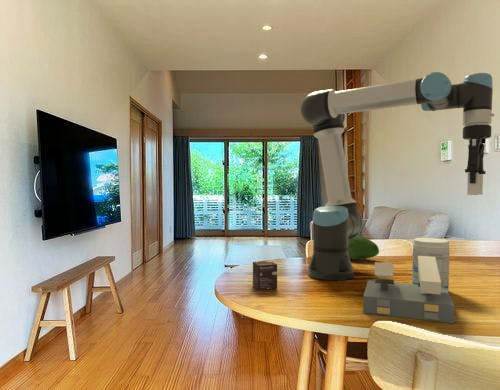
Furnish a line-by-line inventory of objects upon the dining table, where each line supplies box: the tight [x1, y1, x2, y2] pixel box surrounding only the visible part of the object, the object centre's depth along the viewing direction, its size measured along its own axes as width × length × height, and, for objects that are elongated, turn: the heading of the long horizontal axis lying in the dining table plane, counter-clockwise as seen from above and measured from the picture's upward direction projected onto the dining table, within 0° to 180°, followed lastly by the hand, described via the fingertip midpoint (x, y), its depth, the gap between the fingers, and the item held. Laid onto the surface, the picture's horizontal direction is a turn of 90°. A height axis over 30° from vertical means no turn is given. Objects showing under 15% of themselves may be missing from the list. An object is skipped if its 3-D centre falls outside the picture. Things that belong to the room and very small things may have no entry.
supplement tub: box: [411, 237, 450, 293], centre depth 106 cm, size 10×10×15 cm
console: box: [362, 277, 455, 324], centre depth 91 cm, size 19×16×7 cm
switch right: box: [418, 256, 441, 295], centre depth 89 cm, size 4×14×3 cm, turn 158°
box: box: [252, 260, 278, 290], centre depth 110 cm, size 6×6×7 cm
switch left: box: [374, 261, 394, 279], centre depth 93 cm, size 4×14×3 cm, turn 158°
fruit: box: [348, 235, 380, 261], centre depth 153 cm, size 15×10×10 cm, turn 47°
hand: (475, 194), depth 113 cm, fingers open, 13 cm apart
